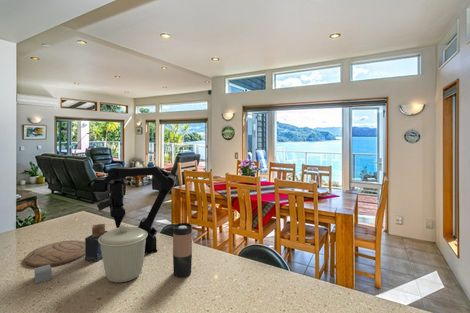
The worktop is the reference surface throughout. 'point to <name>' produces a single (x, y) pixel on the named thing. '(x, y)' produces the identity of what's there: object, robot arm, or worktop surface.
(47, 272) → the slate block
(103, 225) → the walnut block
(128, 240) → the canister
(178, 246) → the travel mug
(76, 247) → the trivet
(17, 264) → the worktop surface
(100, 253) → the small box
